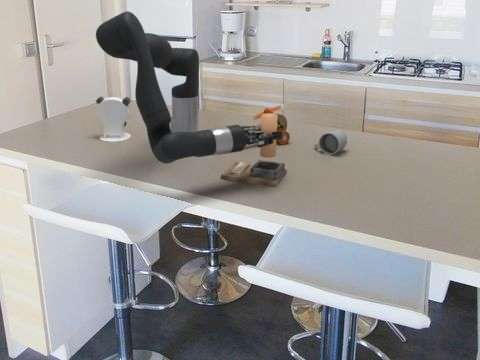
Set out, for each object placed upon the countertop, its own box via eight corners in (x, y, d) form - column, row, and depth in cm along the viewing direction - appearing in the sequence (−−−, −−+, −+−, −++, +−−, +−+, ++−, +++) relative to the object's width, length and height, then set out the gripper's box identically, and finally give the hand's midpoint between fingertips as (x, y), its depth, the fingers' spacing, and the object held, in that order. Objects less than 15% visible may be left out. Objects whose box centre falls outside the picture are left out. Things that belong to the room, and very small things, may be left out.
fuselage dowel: (257, 156, 142) (259, 116, 137) (262, 151, 146) (264, 112, 141) (273, 158, 140) (275, 118, 136) (277, 153, 144) (279, 114, 140)
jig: (220, 178, 144) (220, 167, 143) (234, 165, 155) (234, 154, 153) (275, 187, 139) (276, 175, 138) (286, 172, 149) (287, 161, 148)
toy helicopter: (292, 143, 177) (294, 106, 172) (244, 152, 166) (244, 113, 161) (278, 137, 183) (280, 101, 178) (231, 146, 173) (231, 108, 168)
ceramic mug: (347, 150, 170) (349, 129, 167) (338, 156, 164) (339, 135, 161) (320, 145, 175) (321, 124, 173) (309, 151, 169) (311, 130, 166)
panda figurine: (134, 133, 186) (132, 94, 181) (129, 142, 176) (126, 101, 170) (103, 133, 186) (99, 94, 180) (96, 142, 175) (91, 101, 170)
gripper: (238, 133, 127) (291, 125, 135) (213, 120, 138) (263, 114, 146) (237, 160, 130) (290, 151, 138) (213, 146, 141) (263, 138, 149)
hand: (276, 132), depth 142 cm, fingers closed on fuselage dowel, 4 cm apart
